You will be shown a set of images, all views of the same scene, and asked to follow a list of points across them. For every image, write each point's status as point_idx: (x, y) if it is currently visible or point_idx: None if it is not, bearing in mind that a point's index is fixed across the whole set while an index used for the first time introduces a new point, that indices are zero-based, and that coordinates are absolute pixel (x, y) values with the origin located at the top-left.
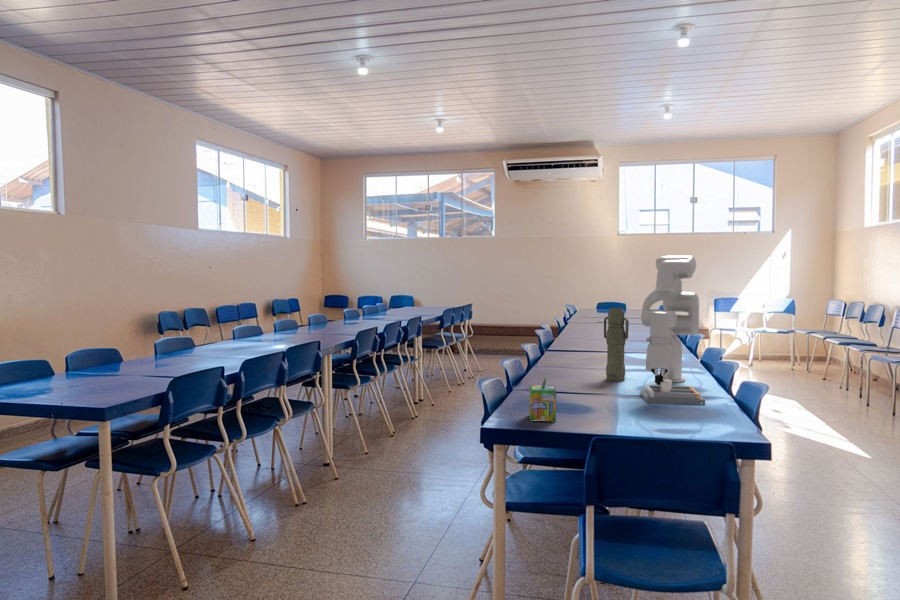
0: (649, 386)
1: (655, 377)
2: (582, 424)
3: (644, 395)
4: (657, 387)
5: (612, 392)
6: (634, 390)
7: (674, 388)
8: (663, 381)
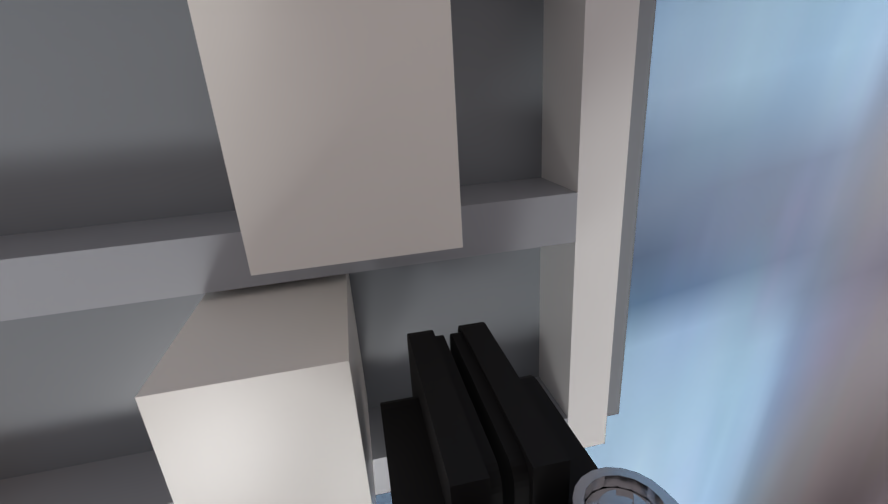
0: None
1: (582, 457)
2: None
3: (637, 103)
4: None
5: (824, 352)
6: None
7: None
8: (366, 455)
